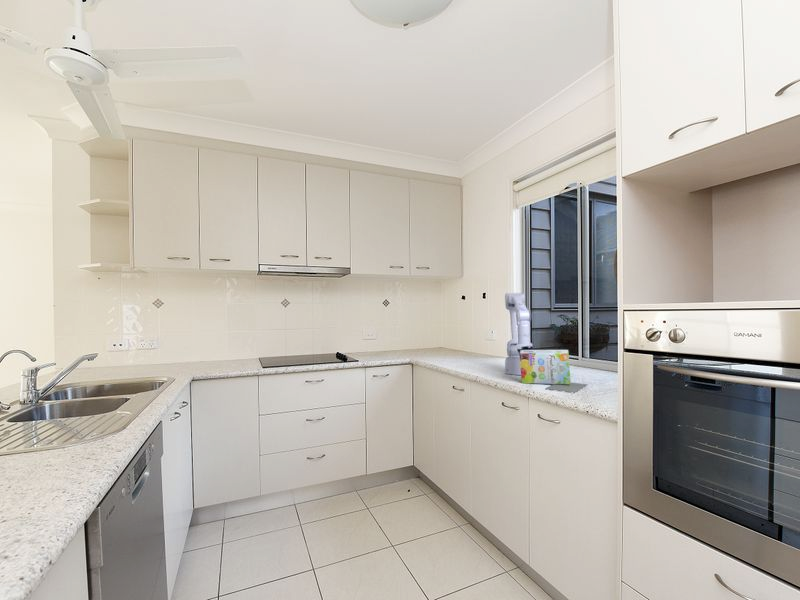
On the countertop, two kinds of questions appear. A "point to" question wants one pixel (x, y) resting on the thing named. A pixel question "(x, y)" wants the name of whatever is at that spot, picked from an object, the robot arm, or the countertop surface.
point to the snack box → (545, 366)
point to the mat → (567, 387)
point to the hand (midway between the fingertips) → (524, 362)
